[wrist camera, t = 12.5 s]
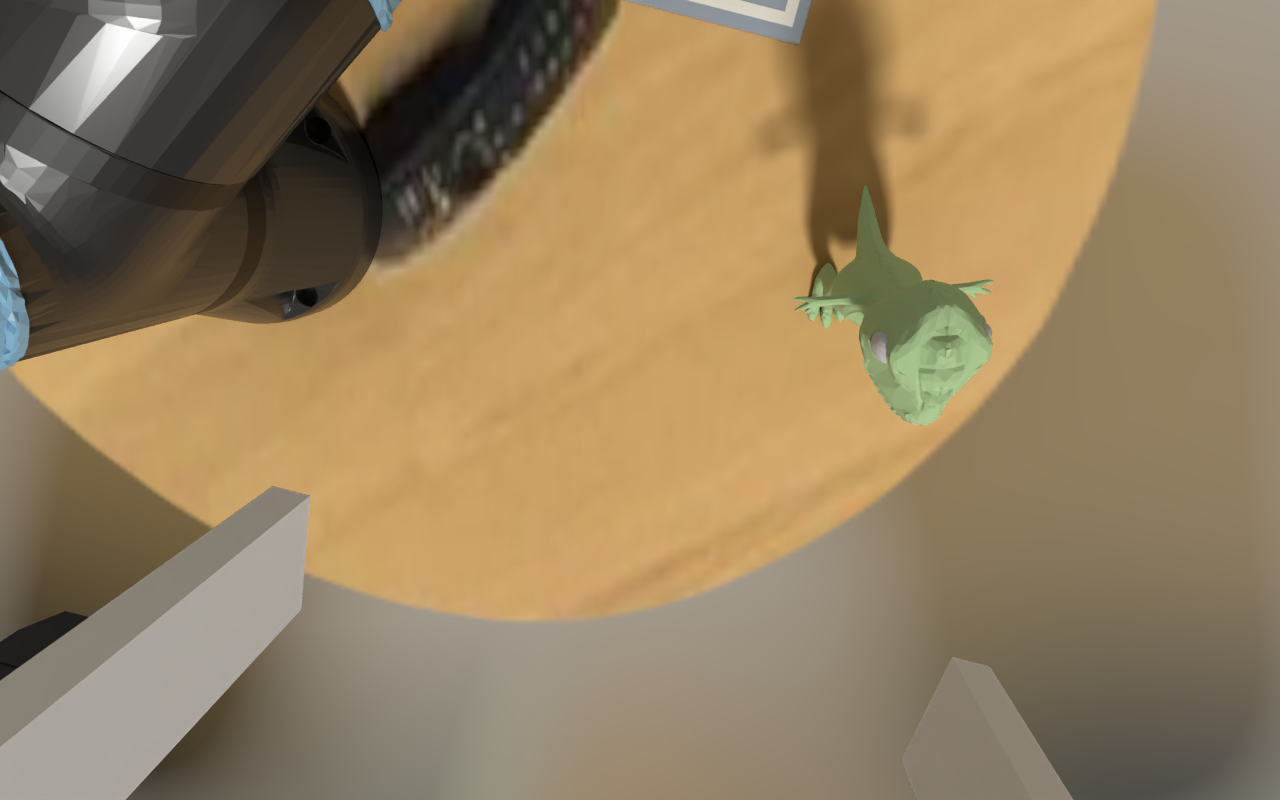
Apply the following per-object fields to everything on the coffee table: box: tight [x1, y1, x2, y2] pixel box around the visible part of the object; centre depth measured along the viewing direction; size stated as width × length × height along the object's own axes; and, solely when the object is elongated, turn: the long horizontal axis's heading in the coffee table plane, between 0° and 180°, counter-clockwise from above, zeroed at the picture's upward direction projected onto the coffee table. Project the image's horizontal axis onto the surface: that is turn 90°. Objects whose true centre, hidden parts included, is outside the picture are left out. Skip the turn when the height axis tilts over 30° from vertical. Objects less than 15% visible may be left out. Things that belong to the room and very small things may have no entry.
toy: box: [793, 186, 994, 425], centre depth 31 cm, size 7×8×15 cm
